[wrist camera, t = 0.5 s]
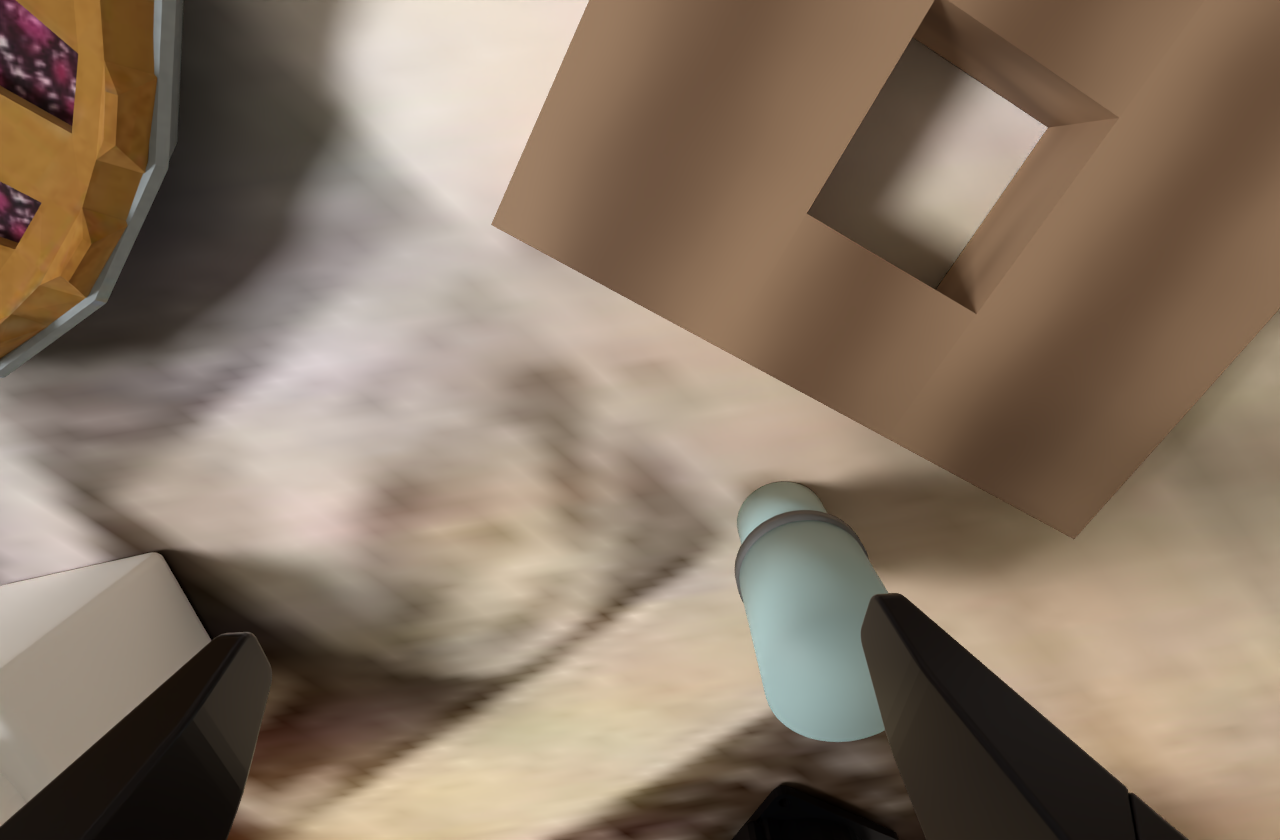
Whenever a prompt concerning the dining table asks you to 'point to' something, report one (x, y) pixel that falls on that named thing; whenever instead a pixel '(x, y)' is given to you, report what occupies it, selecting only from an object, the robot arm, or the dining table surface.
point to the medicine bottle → (83, 662)
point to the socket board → (991, 261)
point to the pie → (78, 154)
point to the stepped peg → (808, 612)
